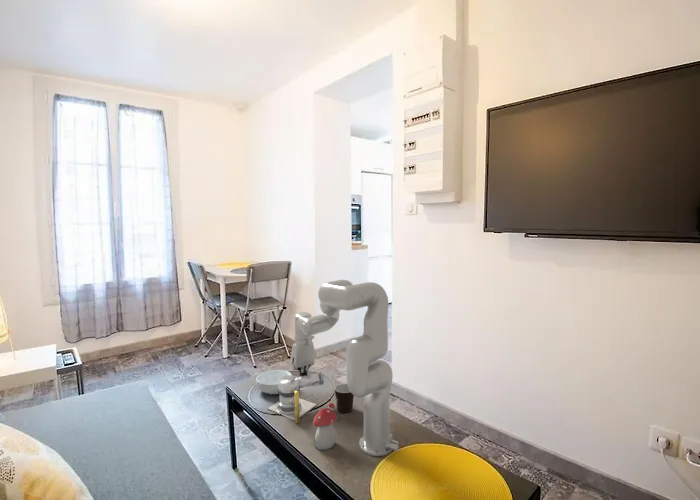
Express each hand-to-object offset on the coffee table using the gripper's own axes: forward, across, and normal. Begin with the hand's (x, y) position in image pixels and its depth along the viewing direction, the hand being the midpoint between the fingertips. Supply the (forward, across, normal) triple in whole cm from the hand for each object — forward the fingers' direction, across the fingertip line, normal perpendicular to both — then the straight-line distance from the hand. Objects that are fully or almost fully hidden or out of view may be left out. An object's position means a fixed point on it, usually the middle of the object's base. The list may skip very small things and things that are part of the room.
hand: (303, 379), depth 164 cm
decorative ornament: (+10, +9, +33) cm, 35 cm away
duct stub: (+10, +7, +4) cm, 13 cm away
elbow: (+2, +4, +4) cm, 5 cm away
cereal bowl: (+11, +6, -17) cm, 22 cm away
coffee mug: (+10, -12, +17) cm, 23 cm away
